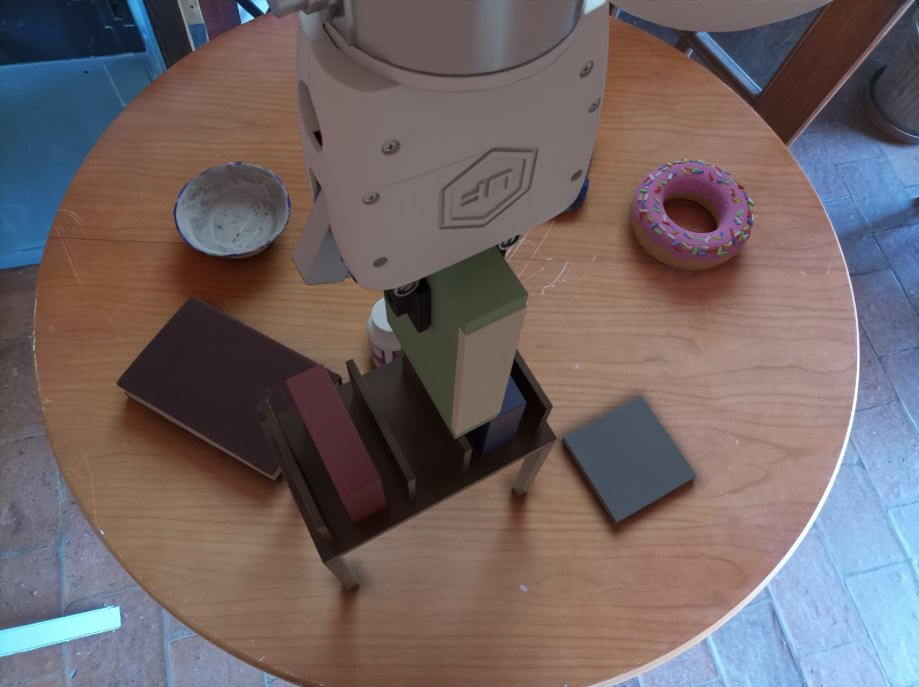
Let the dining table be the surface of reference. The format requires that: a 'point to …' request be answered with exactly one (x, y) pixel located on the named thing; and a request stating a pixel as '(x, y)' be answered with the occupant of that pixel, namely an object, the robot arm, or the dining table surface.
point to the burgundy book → (338, 442)
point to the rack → (399, 455)
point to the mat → (628, 459)
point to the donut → (703, 188)
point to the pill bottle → (382, 336)
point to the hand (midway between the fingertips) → (443, 290)
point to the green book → (467, 338)
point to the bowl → (232, 210)
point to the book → (217, 381)
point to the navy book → (501, 422)
